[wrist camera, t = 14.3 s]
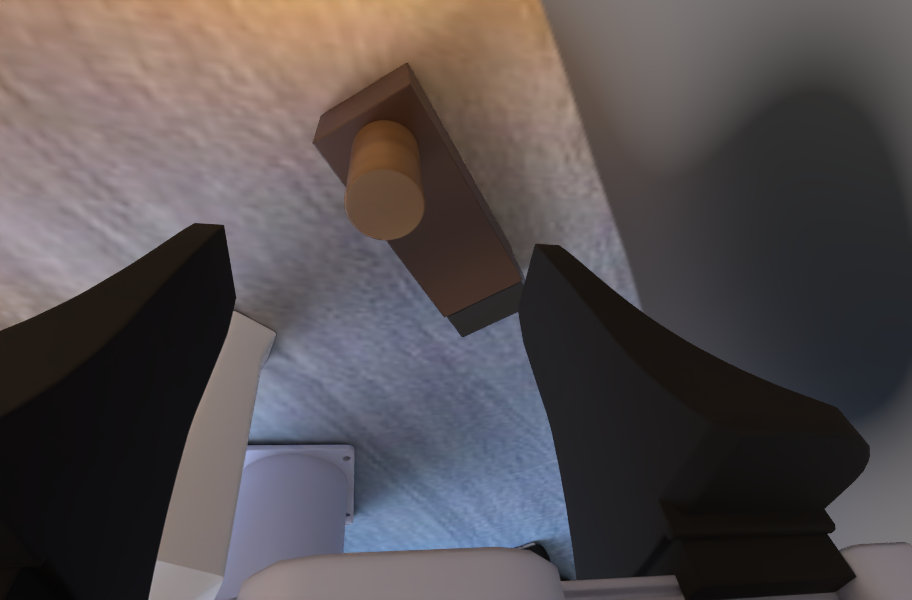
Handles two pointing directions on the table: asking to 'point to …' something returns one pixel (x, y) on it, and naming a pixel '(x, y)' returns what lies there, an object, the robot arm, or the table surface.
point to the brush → (421, 200)
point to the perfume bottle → (212, 470)
